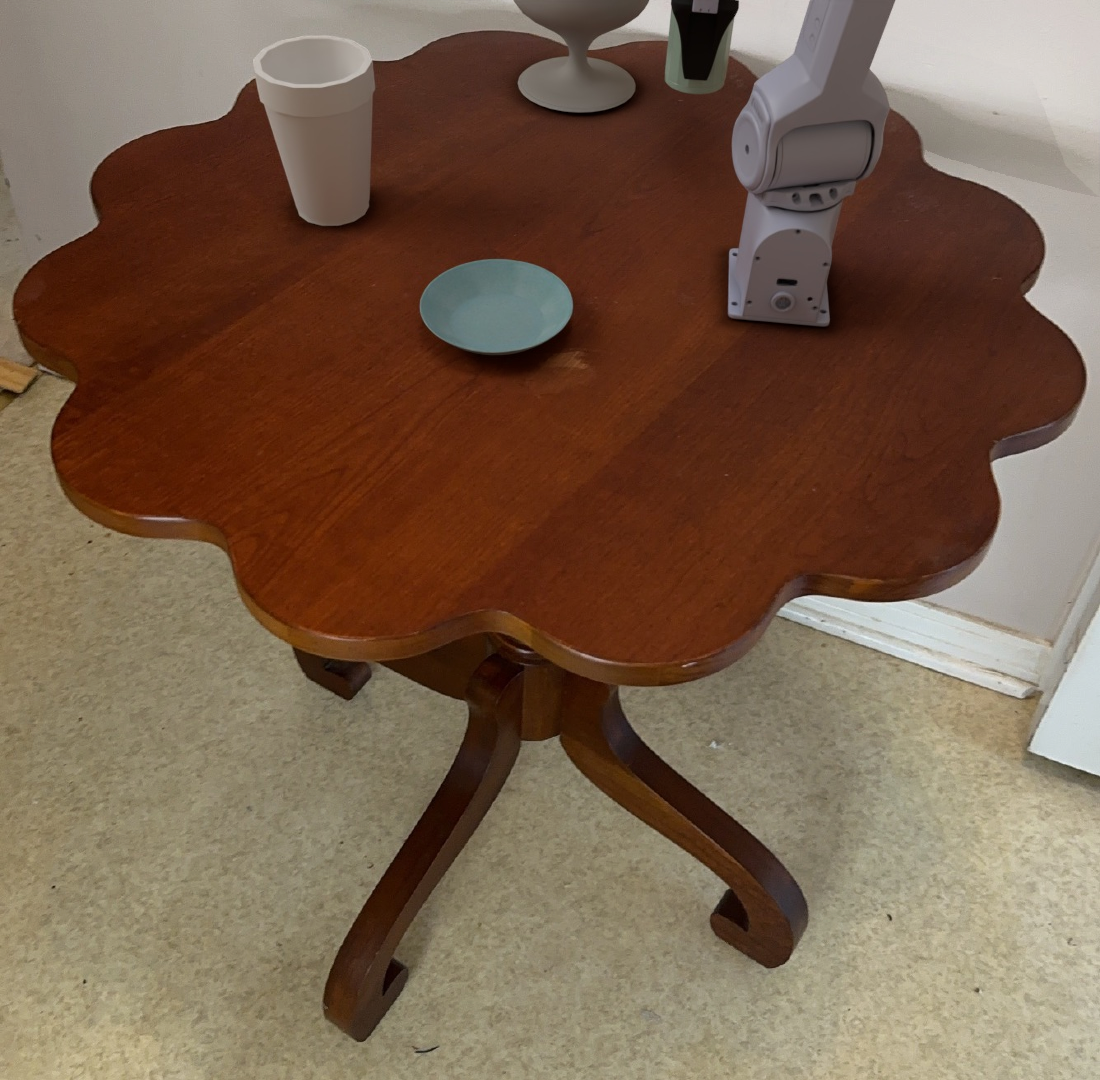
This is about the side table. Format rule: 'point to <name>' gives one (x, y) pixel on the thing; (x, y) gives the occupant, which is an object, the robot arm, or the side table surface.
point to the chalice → (578, 55)
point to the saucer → (496, 306)
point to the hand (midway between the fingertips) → (696, 63)
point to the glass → (674, 63)
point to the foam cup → (321, 122)
